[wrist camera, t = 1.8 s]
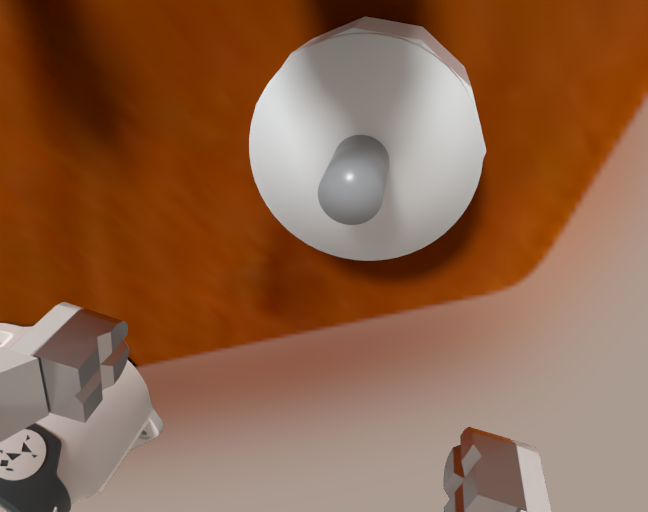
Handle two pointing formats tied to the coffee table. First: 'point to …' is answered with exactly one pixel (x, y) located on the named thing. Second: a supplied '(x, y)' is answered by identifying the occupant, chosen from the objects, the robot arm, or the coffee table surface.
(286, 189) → the cap
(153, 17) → the coffee table surface
